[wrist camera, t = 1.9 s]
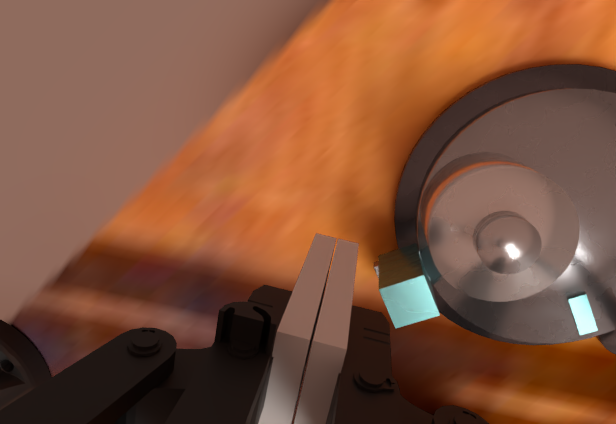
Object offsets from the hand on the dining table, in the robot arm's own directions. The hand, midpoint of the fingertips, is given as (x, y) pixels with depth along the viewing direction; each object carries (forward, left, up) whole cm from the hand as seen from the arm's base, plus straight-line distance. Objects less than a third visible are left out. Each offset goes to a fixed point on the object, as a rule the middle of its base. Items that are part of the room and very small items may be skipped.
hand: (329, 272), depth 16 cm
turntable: (+13, -1, -17) cm, 22 cm away
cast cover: (+9, 0, -16) cm, 18 cm away
